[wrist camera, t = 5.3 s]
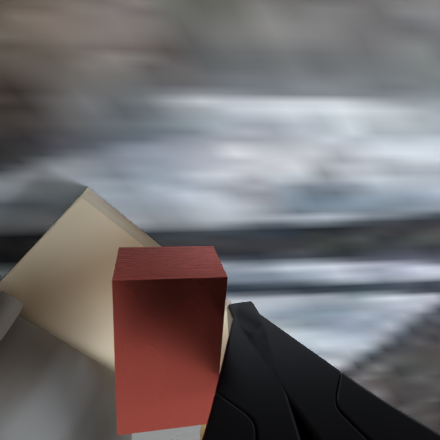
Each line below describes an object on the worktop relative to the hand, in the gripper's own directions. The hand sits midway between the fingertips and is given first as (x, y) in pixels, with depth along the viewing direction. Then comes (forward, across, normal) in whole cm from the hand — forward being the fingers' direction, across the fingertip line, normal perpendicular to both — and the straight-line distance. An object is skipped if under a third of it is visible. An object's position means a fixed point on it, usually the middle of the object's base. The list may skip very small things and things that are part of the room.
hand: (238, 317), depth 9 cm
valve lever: (0, +2, +4) cm, 4 cm away
